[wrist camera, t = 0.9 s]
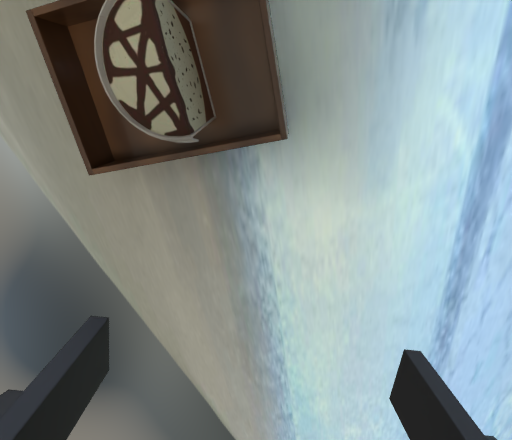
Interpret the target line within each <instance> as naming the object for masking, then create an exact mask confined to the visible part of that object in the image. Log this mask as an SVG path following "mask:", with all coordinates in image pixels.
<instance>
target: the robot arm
mask: <svg viewBox="0 0 512 440" xmlns="http://www.w3.org/2000/svg"><path fill="white" fill-rule="evenodd" d="M108 371H109V318H107V317H98V316H90V317H89V319H88V320H87V321H86V322H85V323H84V324H83V325H82V327H81V328H80V329H79V330H78V331H77V332H76V333H75V334H74V335H73V337H72V338H71V339H70V340H69V341H68V342H67V343H66V344H65V345H64V347H63V348H62V349H61V350H60V351H59V352H58V353H57V354H56V356H55V357H54V358H53V359H52V360H51V361H50V362H49V363H48V364H47V366H46V367H45V368H44V369H43V370H42V371H41V372H40V374H39V375H38V376H37V377H36V378H35V379H34V380H33V381H32V382H31V384H30V385H29V386H28V387H27V388H26V389H25V390H24V391H17V390H7V391H6V392H4V393H3V394H1V395H0V440H66V439H67V438H68V436H69V434H70V433H71V431H72V430H73V428H74V426H75V425H76V423H77V421H78V420H79V418H80V416H81V415H82V413H83V412H84V410H85V408H86V407H87V405H88V404H89V402H90V400H91V398H92V397H93V395H94V394H95V392H96V391H97V389H98V387H99V385H100V383H101V382H102V381H103V379H104V377H105V376H106V374H107V372H108ZM389 399H390V401H391V403H392V405H393V407H394V409H395V411H396V413H397V415H398V417H399V419H400V421H401V423H402V425H403V427H404V429H405V431H406V433H407V435H408V437H409V439H410V440H497V439H496V438H495V437H493V436H485V435H484V434H483V433H482V432H481V431H480V429H479V428H478V427H477V425H476V424H475V423H474V421H473V420H472V419H471V417H470V416H469V415H468V413H467V412H466V411H465V409H464V408H463V407H462V405H461V404H460V403H459V401H458V400H457V399H456V397H455V396H454V395H453V393H452V392H451V391H450V389H449V388H448V387H447V385H446V384H445V383H444V381H443V380H442V379H441V377H440V376H439V375H438V373H437V372H436V371H435V370H434V368H433V367H432V366H431V364H430V363H429V362H428V360H427V359H426V358H425V356H424V355H423V354H422V352H421V351H414V350H404V352H403V355H402V358H401V362H400V365H399V368H398V372H397V375H396V378H395V381H394V385H393V388H392V391H391V395H390V398H389Z"/></svg>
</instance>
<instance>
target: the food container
mask: <svg viewBox="0 0 512 440" xmlns="http://www.w3.org/2000/svg"><path fill="white" fill-rule="evenodd" d="M94 51H95V60H96V66H97V70H98V73H99V77H100V80H101V82H102V85H103V87H104V89H105V92H106V93H107V95H108V97H109V98H110V100H111V102H112V103H113V105H114V106H115V107H116V108H117V110H118V111H119V112H120V113H121V114H122V115H123V116H124V117H125V118H126V119H127V120H128V121H129V122H130V123H131V124H132V125H134V126H135V127H137V128H138V129H139V130H141V131H143V132H145V133H146V134H148V135H150V136H153V137H156V138H158V139H161V140H167V141H172V142H177V143H192V142H198V141H199V140H198V139H194V138H193V136H194V135H196V134H197V133H198V132H199V131H201V130H202V129H203V128H204V127H206V126H207V125H208V124H209V123H211V122H212V121H213V120H214V119H216V114H215V110H214V106H213V103H212V99H211V95H210V91H209V87H208V83H207V80H206V76H205V72H204V68H203V64H202V60H201V57H200V53H199V49H198V45H197V41H196V37H195V34H194V30H193V26H192V22H191V19H190V18H189V17H188V16H187V15H186V14H185V13H184V12H183V11H182V10H181V9H180V8H179V7H178V6H177V5H176V4H175V3H174V2H173V1H172V0H105V2H104V4H103V6H102V9H101V11H100V13H99V16H98V20H97V24H96V28H95V38H94Z"/></svg>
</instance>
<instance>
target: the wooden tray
mask: <svg viewBox="0 0 512 440" xmlns="http://www.w3.org/2000/svg"><path fill="white" fill-rule="evenodd" d="M172 1H173V2H174V3H175V4H176V5H177V6H178V7H179V8H180V9H181V10H182V11H183V12H184V13H185V14H186V15H187V16H188V17H189V18H190V19H191V22H192V26H193V30H194V34H195V37H196V41H197V45H198V49H199V53H200V57H201V60H202V64H203V68H204V72H205V76H206V80H207V83H208V87H209V91H210V95H211V99H212V103H213V106H214V110H215V114H216V119H214V120H213V121H212V122H211V123H209V124H208V125H207V126H206V127H204V128H203V129H202V130H201V131H199V132H198V133H197V134H196V135H194V136H193V138H194V139H198V140H199V141H198V142H192V143H177V142H172V141H167V140H161V139H158V138H156V137H153V136H150V135H148V134H146V133H145V132H143V131H141V130H139V129H138V128H137V127H135V126H134V125H132V124H131V123H130V122H129V121H128V120H127V119H126V118H125V117H124V116H123V115H122V114H121V113H120V112H119V111H118V110H117V108H116V107H115V106H114V105H113V103H112V102H111V100H110V98H109V97H108V95H107V93H106V92H105V89H104V87H103V85H102V82H101V80H100V77H99V73H98V70H97V66H96V60H95V51H94V38H95V28H96V24H97V20H98V16H99V13H100V11H101V9H102V6H103V4H104V2H105V0H59V1H56V2H53V3H49V4H46V5H43V6H40V7H36V8H33V9H30V10H27V11H26V13H27V15H28V18H29V21H30V23H31V26H32V28H33V31H34V34H35V36H36V39H37V41H38V44H39V47H40V49H41V52H42V54H43V57H44V60H45V62H46V65H47V67H48V70H49V73H50V75H51V78H52V80H53V83H54V86H55V88H56V91H57V93H58V96H59V99H60V101H61V104H62V106H63V109H64V112H65V114H66V117H67V119H68V122H69V125H70V127H71V130H72V132H73V135H74V138H75V140H76V143H77V145H78V148H79V151H80V153H81V156H82V158H83V161H84V164H85V166H86V169H87V171H88V174H89V175H94V174H100V173H105V172H111V171H116V170H121V169H127V168H132V167H138V166H143V165H149V164H154V163H159V162H165V161H170V160H176V159H181V158H187V157H192V156H198V155H203V154H208V153H214V152H219V151H225V150H230V149H236V148H241V147H246V146H252V145H257V144H263V143H268V142H274V141H279V140H284V139H287V138H288V134H289V131H288V124H287V118H286V111H285V105H284V98H283V92H282V85H281V79H280V72H279V66H278V59H277V53H276V46H275V40H274V33H273V27H272V20H271V14H270V7H269V1H268V0H172Z"/></svg>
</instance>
